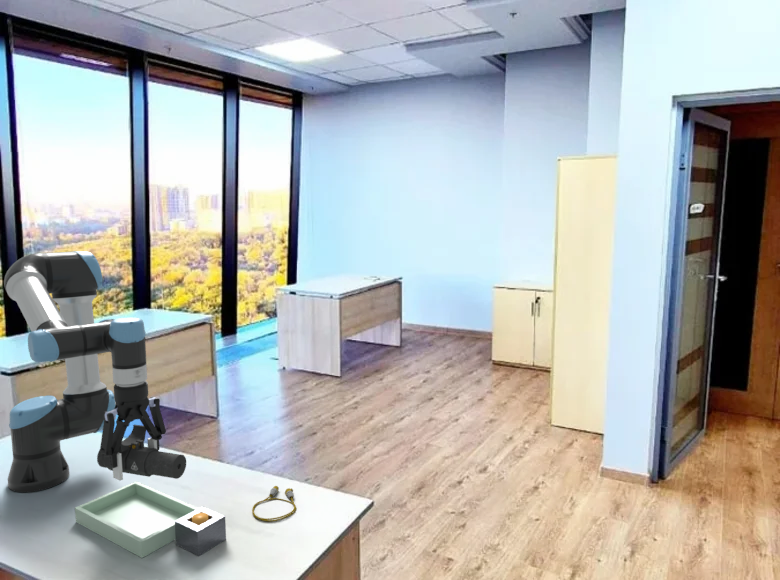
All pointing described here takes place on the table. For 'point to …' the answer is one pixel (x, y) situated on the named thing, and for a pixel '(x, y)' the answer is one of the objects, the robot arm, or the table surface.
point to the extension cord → (273, 492)
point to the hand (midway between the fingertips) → (136, 471)
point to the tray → (134, 517)
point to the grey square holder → (200, 532)
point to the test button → (199, 518)
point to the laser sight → (145, 458)
